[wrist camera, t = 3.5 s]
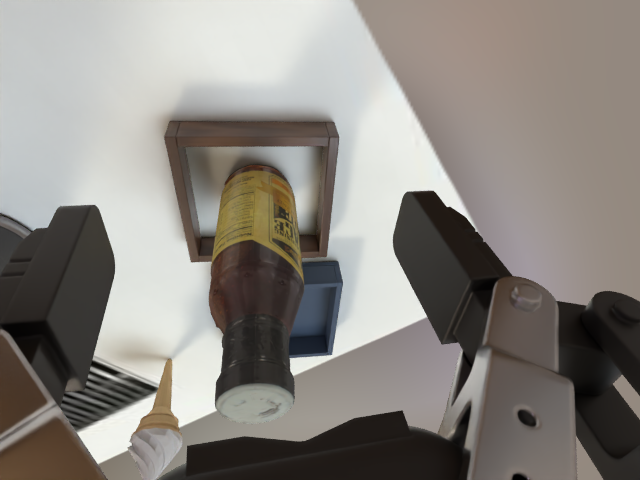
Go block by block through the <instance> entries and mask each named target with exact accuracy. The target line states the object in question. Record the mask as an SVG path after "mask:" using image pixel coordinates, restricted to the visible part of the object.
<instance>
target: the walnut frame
mask: <svg viewBox="0 0 640 480" xmlns="http://www.w3.org/2000/svg"><path fill="white" fill-rule="evenodd" d="M164 138H165V143H166V148H167V152H168V157H169V162H170V166H171V171H172V176H173V180H174V185H175V190H176V194H177V199H178V204H179V208H180V213H181V218H182V222H183V227H184V232H185V237H186V241H187V246H188V251H189V255H190V260H191V262H212V257H213V250H214V243H215V238H201V233H200V228H199V222H198V217H197V211H196V206H195V200H194V194H193V189H192V183H191V178H190V172H189V167H188V161H187V155H186V150H185V147H218V146H323V153H322V166H321V179H320V192H319V205H318V219H317V232H316V234H312V235H299V241H300V249H301V258H315V257H327V249H328V240H329V230H330V221H331V211H332V202H333V192H334V183H335V173H336V164H337V154H338V145H339V135H338V132H337V129H336V126H335V123H334V122H217V121H181V122H180V121H170V122H169V125H168V128H167V131H166V133H165V136H164Z"/></svg>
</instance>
